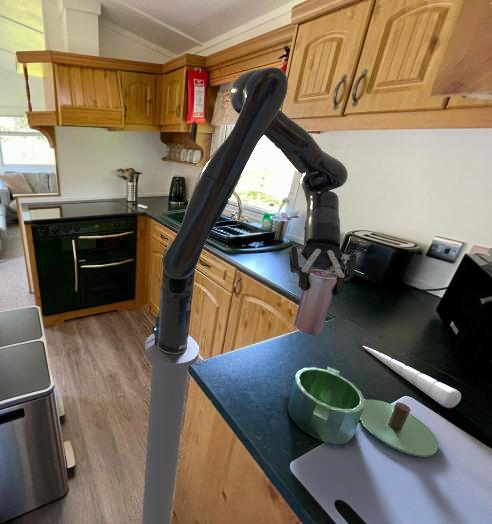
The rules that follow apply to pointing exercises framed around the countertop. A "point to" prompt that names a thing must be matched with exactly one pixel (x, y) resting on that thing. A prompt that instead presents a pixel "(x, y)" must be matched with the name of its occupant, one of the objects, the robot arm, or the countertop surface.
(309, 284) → the beverage can
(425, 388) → the unicorn horn
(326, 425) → the pot
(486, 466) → the countertop surface
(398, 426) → the pot lid
